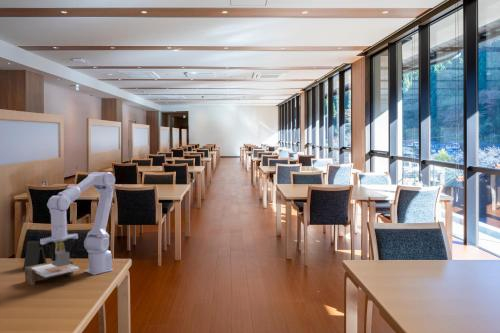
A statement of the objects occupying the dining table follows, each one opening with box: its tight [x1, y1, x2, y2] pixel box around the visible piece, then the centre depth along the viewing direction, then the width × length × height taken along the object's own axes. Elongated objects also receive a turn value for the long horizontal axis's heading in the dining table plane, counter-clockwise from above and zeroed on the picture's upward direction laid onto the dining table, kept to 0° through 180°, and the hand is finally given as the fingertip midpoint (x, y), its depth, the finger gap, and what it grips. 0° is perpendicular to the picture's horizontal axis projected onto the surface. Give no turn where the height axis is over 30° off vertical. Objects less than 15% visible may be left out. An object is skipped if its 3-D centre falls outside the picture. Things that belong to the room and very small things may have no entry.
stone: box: [51, 250, 71, 267], centre depth 184 cm, size 5×5×5 cm
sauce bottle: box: [54, 230, 70, 251], centre depth 217 cm, size 6×6×20 cm
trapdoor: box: [31, 264, 80, 277], centre depth 188 cm, size 14×14×1 cm
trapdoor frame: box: [24, 261, 74, 286], centre depth 192 cm, size 17×8×6 cm, turn 136°
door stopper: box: [23, 240, 47, 271], centre depth 210 cm, size 9×6×12 cm, turn 173°
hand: (60, 259), depth 184 cm, fingers closed on stone, 5 cm apart
